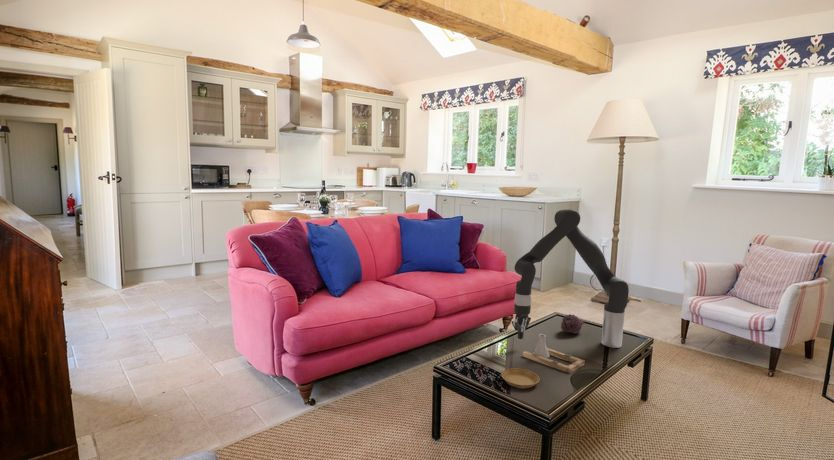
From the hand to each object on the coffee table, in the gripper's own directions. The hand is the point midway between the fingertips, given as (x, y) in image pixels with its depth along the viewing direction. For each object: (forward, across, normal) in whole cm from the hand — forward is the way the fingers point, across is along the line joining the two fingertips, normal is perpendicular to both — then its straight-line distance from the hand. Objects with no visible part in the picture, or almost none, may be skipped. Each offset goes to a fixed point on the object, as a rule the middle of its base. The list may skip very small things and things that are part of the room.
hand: (520, 338), depth 210 cm
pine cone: (+5, -39, +5) cm, 40 cm away
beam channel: (+5, 0, +16) cm, 17 cm away
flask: (+5, 0, +11) cm, 12 cm away
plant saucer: (+6, +29, +19) cm, 35 cm away
